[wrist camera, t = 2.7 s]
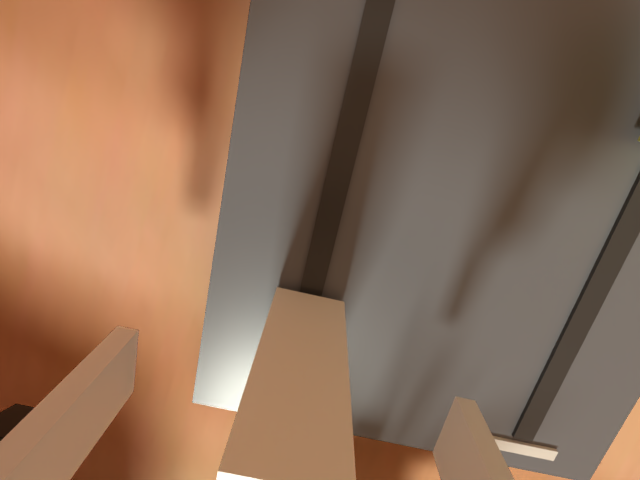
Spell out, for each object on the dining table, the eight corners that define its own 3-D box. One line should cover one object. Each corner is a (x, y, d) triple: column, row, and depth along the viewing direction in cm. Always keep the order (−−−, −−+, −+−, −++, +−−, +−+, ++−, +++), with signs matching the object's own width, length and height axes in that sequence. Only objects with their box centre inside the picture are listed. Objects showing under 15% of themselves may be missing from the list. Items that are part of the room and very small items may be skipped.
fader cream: (257, 380, 18) (190, 619, 10) (276, 287, 17) (218, 471, 8) (319, 393, 18) (308, 639, 10) (344, 301, 17) (357, 498, 8)
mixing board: (204, 376, 21) (190, 405, 19) (289, -170, 14) (281, -222, 12) (566, 450, 22) (590, 486, 20) (830, -27, 15) (913, -50, 12)
